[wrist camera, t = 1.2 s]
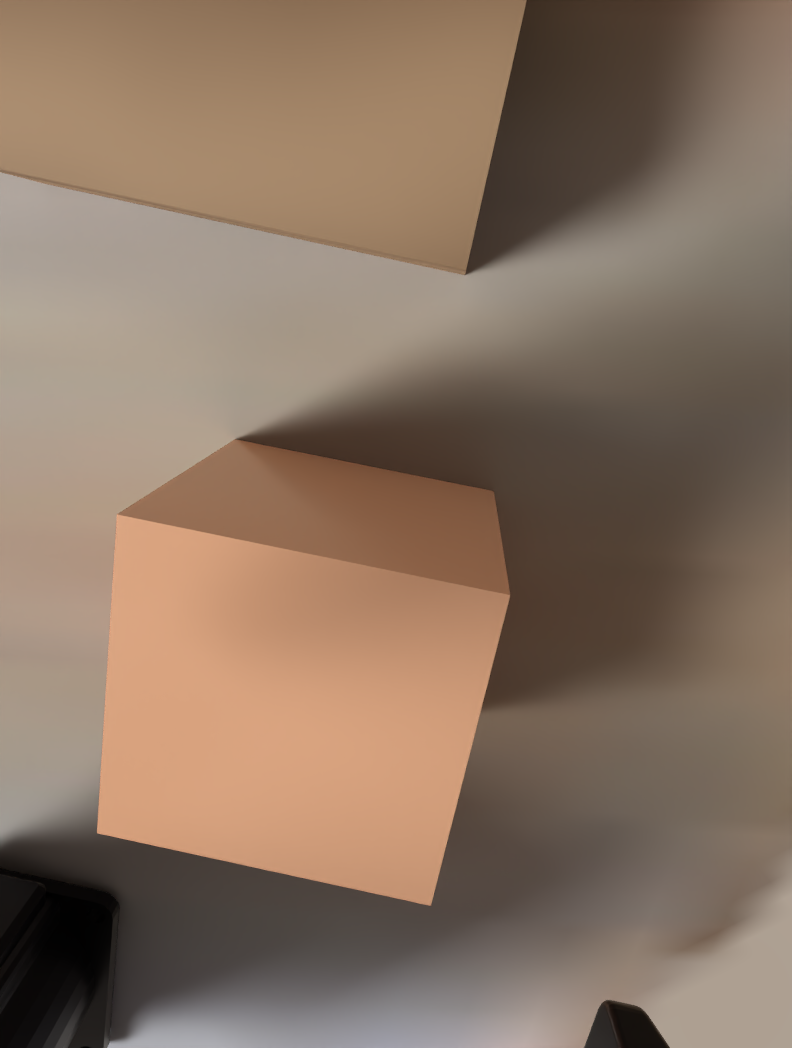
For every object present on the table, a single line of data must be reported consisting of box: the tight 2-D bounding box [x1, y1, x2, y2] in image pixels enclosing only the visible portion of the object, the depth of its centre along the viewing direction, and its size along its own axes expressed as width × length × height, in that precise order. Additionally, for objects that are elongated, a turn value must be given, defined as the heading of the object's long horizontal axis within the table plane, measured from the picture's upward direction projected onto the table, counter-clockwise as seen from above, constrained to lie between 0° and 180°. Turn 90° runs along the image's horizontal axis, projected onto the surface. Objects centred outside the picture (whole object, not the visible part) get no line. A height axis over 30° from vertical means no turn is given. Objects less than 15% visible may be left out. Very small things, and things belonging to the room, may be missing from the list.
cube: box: [97, 439, 510, 906], centre depth 14 cm, size 6×6×6 cm
